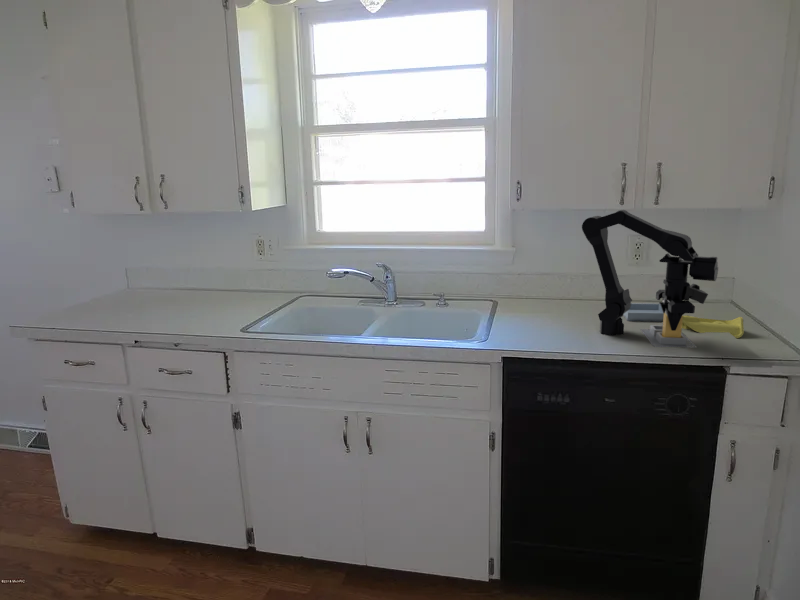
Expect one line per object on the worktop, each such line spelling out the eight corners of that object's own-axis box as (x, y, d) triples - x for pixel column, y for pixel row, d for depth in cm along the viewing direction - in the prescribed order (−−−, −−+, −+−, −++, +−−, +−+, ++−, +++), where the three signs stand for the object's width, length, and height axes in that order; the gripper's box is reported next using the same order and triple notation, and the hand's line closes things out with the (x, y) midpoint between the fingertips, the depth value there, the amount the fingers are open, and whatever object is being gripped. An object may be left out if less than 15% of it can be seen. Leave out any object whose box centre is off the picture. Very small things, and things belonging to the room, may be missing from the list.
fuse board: (653, 351, 167) (654, 339, 166) (639, 333, 184) (640, 323, 183) (697, 352, 164) (698, 341, 164) (679, 334, 182) (680, 323, 181)
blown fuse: (680, 341, 168) (683, 313, 166) (664, 341, 169) (666, 313, 167) (677, 338, 171) (680, 310, 169) (661, 338, 172) (664, 310, 170)
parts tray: (627, 320, 198) (628, 312, 198) (620, 310, 212) (620, 303, 211) (670, 321, 196) (670, 313, 195) (659, 311, 209) (660, 303, 208)
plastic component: (731, 321, 186) (744, 315, 177) (730, 343, 185) (744, 339, 175) (667, 315, 190) (677, 309, 180) (666, 337, 189) (676, 332, 179)
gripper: (717, 284, 155) (711, 339, 159) (696, 272, 173) (691, 321, 176) (673, 284, 157) (669, 337, 161) (657, 271, 175) (653, 320, 179)
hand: (671, 328), depth 169 cm, fingers closed on blown fuse, 3 cm apart
